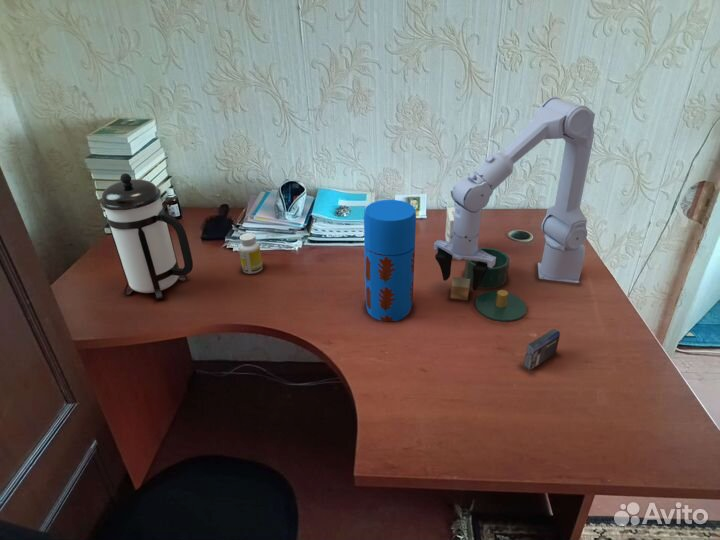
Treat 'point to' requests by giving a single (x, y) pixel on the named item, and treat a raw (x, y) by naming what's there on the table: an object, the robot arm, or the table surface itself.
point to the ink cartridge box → (449, 224)
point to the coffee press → (144, 236)
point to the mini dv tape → (541, 349)
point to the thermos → (389, 258)
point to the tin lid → (500, 306)
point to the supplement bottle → (250, 254)
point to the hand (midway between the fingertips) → (460, 283)
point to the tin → (490, 269)
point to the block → (460, 288)
